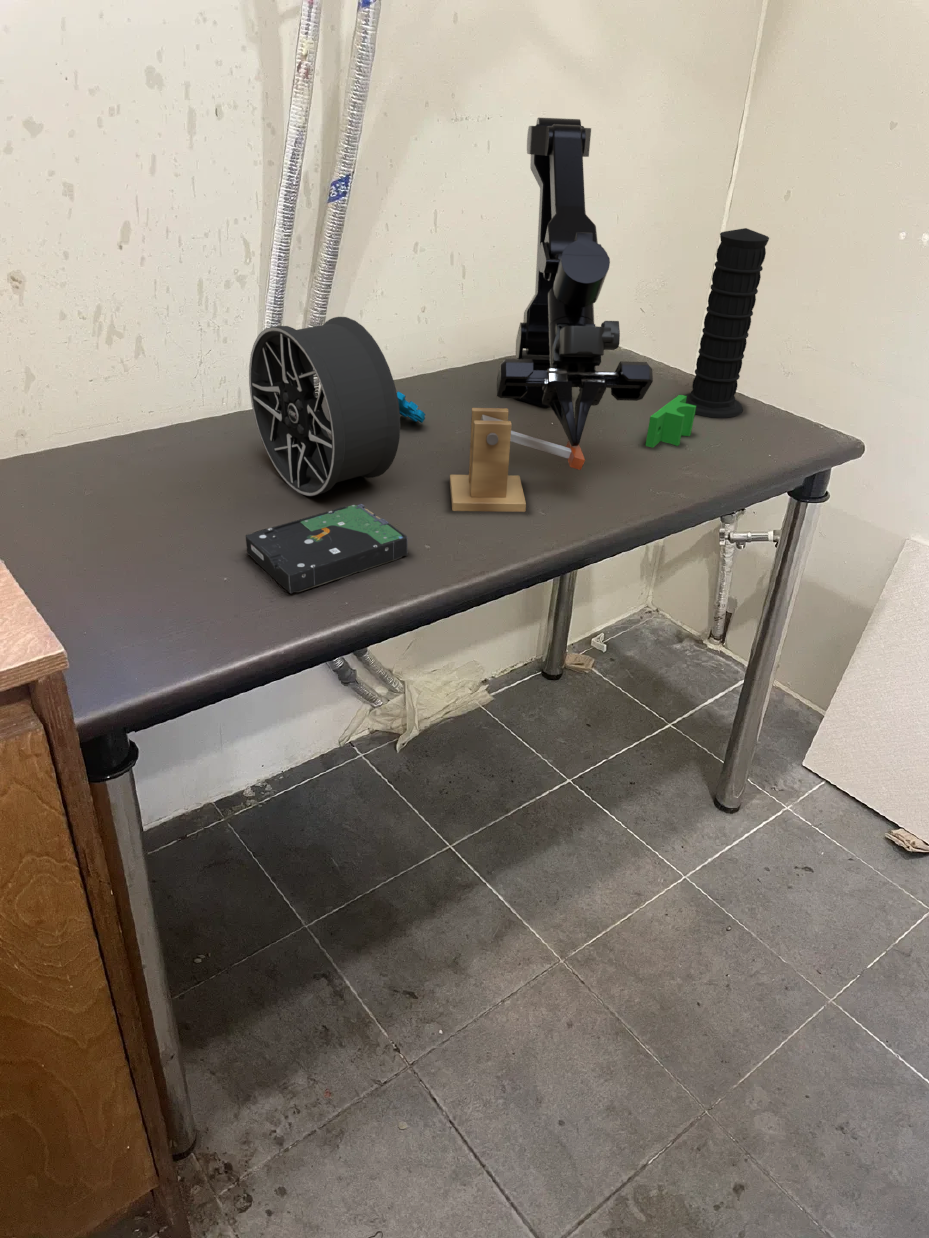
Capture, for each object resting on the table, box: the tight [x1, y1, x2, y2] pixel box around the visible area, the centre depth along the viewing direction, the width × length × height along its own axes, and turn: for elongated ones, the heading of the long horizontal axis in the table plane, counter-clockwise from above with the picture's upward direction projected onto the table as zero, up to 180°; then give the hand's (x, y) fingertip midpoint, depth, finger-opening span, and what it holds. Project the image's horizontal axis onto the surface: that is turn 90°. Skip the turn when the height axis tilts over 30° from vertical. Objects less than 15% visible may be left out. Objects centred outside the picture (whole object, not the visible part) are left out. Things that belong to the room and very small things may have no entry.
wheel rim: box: [248, 316, 401, 497], centre depth 111 cm, size 20×9×20 cm, turn 39°
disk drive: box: [245, 503, 409, 594], centre depth 101 cm, size 10×3×15 cm
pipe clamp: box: [645, 394, 696, 449], centre depth 132 cm, size 11×4×5 cm, turn 147°
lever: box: [480, 415, 586, 471], centre depth 111 cm, size 13×5×2 cm, turn 93°
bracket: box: [449, 407, 527, 513], centre depth 112 cm, size 9×8×11 cm
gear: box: [396, 390, 426, 424], centre depth 131 cm, size 11×6×10 cm
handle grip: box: [683, 227, 770, 419], centre depth 137 cm, size 10×26×10 cm
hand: (575, 444), depth 112 cm, fingers closed
